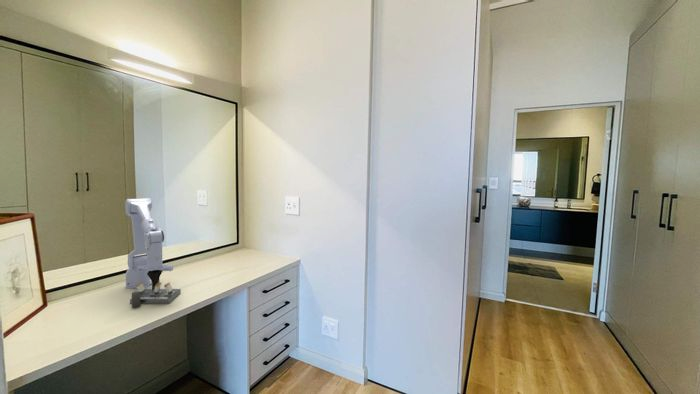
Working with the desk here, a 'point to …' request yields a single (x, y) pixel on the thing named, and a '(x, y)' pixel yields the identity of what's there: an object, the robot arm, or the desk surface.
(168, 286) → the orange and white block
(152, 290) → the breaker panel
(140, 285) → the white and orange block
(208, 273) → the desk surface
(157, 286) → the white and orange block
